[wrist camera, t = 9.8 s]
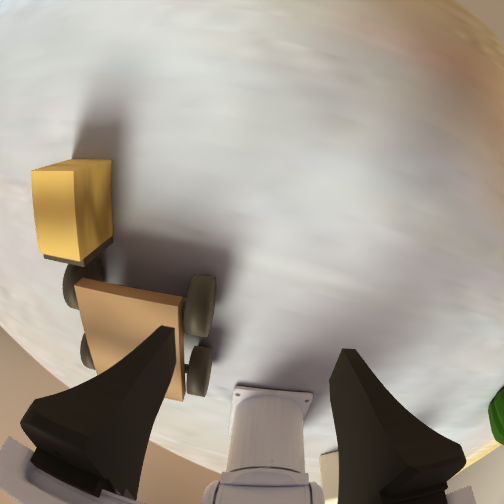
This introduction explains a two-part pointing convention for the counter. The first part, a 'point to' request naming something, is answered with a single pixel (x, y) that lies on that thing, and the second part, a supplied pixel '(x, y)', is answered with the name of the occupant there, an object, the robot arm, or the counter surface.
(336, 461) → the container
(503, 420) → the bell pepper
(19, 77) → the counter surface
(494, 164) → the counter surface
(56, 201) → the block
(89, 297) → the trolley
